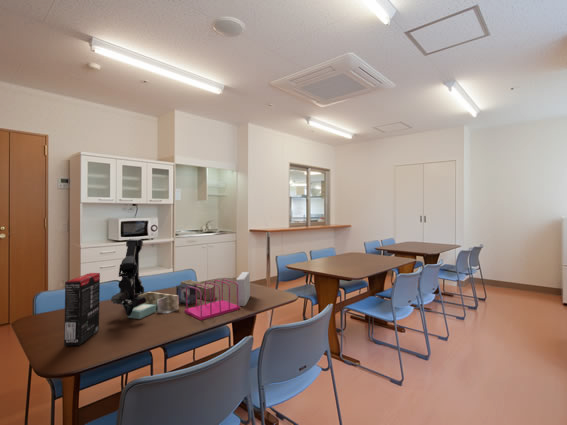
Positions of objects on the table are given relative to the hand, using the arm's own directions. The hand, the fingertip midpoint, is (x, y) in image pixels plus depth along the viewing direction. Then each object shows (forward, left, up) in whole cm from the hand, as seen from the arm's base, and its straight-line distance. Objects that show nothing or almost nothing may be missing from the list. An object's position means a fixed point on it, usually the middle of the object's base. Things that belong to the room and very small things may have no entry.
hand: (128, 315), depth 158 cm
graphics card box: (+2, -25, -2) cm, 25 cm away
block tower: (+5, +50, -2) cm, 50 cm away
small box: (+9, +34, -2) cm, 35 cm away
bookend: (+10, +16, -1) cm, 19 cm away
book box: (+1, +8, -2) cm, 8 cm away
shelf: (+3, +17, -2) cm, 17 cm away
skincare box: (+40, +50, -2) cm, 64 cm away
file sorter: (+33, +27, -2) cm, 43 cm away
